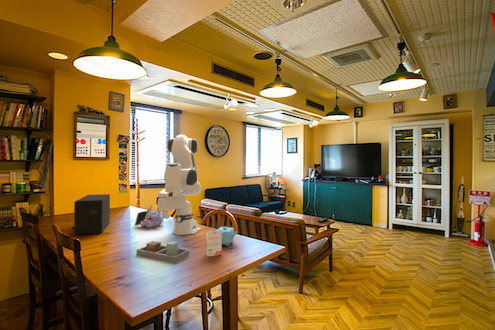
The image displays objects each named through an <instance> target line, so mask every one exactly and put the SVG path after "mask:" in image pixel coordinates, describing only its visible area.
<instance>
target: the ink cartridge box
mask: <svg viewBox="0 0 495 330" xmlns="http://www.w3.org/2000/svg"><path fill="white" fill-rule="evenodd" d="M214 232H217V233H216V234H214ZM222 245H223V244H222V235H221V230H218V229H216V230H207V231H206V234H205V255H206V257H209V256H210V257H218V255H221V256H222V254H223V253H222V247H223V246H222Z"/></svg>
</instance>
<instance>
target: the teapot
mask: <svg viewBox="0 0 495 330" xmlns="http://www.w3.org/2000/svg"><path fill="white" fill-rule="evenodd" d="M211 229H212V231H214V230H221V235H222V245H225V246H226V247H229V246H230V245H231V244H232V242H233V241H234V237H235V236H236V235H237V234H238V231H234V230H235V229H234V227H230V226H229V227H228V226H219V228H218V229H216V228H214V227H211ZM216 233H217V232H213V234H216Z"/></svg>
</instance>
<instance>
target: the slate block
mask: <svg viewBox="0 0 495 330" xmlns="http://www.w3.org/2000/svg"><path fill="white" fill-rule="evenodd" d="M166 246H167V253H166V255H171V256H177V255H178V248H179V241H173V240H170V241H169V242H167V243H166Z"/></svg>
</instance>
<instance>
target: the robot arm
mask: <svg viewBox="0 0 495 330" xmlns="http://www.w3.org/2000/svg"><path fill="white" fill-rule="evenodd" d="M199 144H200V143H199V142H198V139H196V138H188V136H186V135H184V134H179V135H176V136H175V137H174V138H169V140H167V143H166V146H167V147H166V148H167V151H168V152H169V153H171V156H172V157H173V158H174V159H175V160H176V162H168V163H167V164H166V165H165V169H164V170H165V171H164V176H163V177H164V182H165V185H164V188H163V190H160V191H159V192H157V197H158V199H157V210H158V212H159V211H160V212H161V213H164V215H165V218H164V219H165V220H169V219H170V215H169V214H168V213H169V211H171V210H175V220H174V225H173V226H174V228H173V229H172V231H173V234H174V235H178V236H179V235H180V236H182V235H183V236H186V235H194V234H196V233H197V232H199V231H201V230H202V227H199V225H198V224H199V223H198V221H197V220H196V219H194V217H195V212H192V203H191V201H189V200H187V197H186V196H196V195H199V194H200V193H201V192H202V185H201V183H200V182H199V174H198V170H197V166H196V162H195V161H196V160H195V156H194V155H195V154H196V153H197V152H198V150H199V147H200V145H199ZM193 216H194V217H193Z"/></svg>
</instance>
